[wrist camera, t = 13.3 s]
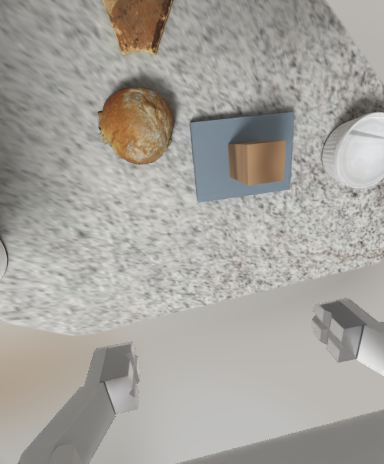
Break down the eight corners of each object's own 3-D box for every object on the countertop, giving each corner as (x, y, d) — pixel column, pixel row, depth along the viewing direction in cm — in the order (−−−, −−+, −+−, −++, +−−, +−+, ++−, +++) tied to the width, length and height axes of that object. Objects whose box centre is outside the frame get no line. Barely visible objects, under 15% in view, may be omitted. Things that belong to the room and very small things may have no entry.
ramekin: (370, 103, 39) (401, 97, 34) (378, 165, 43) (406, 169, 38) (308, 134, 39) (330, 133, 34) (322, 193, 44) (344, 200, 39)
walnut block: (229, 176, 38) (247, 185, 31) (227, 143, 36) (247, 144, 29) (258, 172, 39) (284, 180, 31) (258, 140, 37) (285, 140, 29)
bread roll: (154, 164, 41) (178, 173, 35) (91, 155, 35) (107, 164, 29) (163, 100, 37) (191, 98, 31) (95, 78, 31) (114, 70, 25)
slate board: (197, 200, 40) (198, 202, 39) (189, 123, 36) (191, 122, 34) (285, 187, 42) (289, 189, 40) (288, 112, 37) (293, 111, 36)
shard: (182, -31, 30) (184, -41, 28) (200, 41, 33) (202, 36, 31) (100, -4, 29) (97, -12, 28) (126, 66, 32) (124, 62, 31)
